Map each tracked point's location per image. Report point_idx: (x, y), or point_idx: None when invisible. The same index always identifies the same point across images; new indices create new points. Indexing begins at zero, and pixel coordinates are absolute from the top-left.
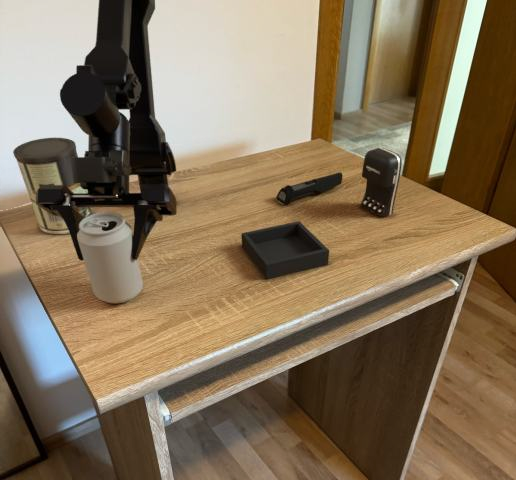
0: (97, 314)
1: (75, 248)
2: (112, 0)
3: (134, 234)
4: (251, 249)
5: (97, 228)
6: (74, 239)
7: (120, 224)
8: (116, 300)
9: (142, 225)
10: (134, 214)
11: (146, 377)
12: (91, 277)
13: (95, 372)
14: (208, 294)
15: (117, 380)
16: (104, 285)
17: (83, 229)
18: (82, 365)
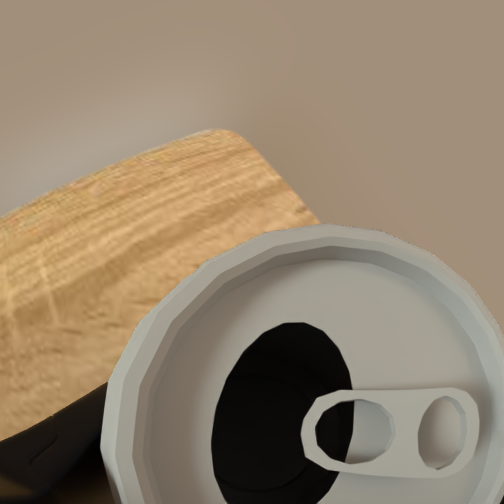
0: None
1: None
2: None
3: (91, 427)
4: None
5: (386, 372)
6: None
7: (143, 371)
8: (247, 353)
9: (6, 444)
10: (1, 499)
11: (157, 149)
12: (341, 357)
13: (248, 163)
14: (6, 387)
15: (206, 146)
16: (284, 337)
17: (463, 286)
18: (277, 178)
